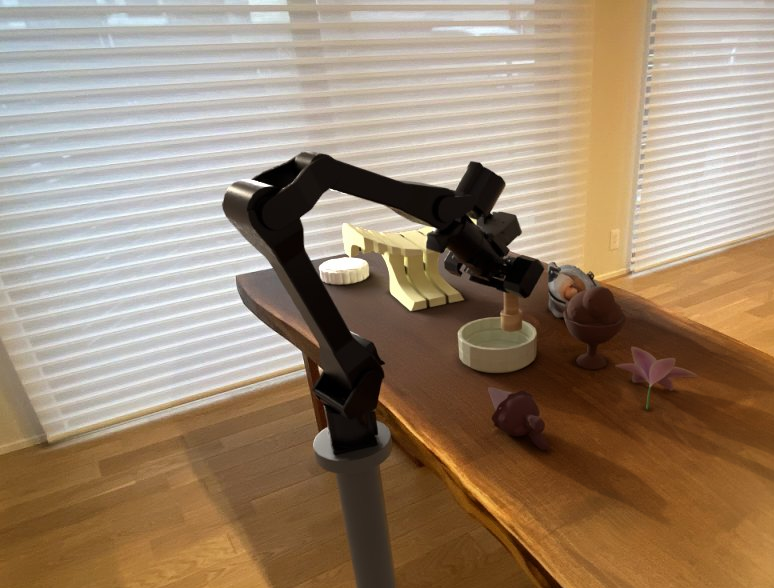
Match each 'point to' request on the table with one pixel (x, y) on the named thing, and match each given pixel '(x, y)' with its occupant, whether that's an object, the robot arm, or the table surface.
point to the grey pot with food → (566, 286)
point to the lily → (654, 370)
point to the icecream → (518, 415)
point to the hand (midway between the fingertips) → (516, 291)
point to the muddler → (511, 314)
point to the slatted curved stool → (405, 264)
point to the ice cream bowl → (593, 322)
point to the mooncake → (344, 270)
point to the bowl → (496, 346)
